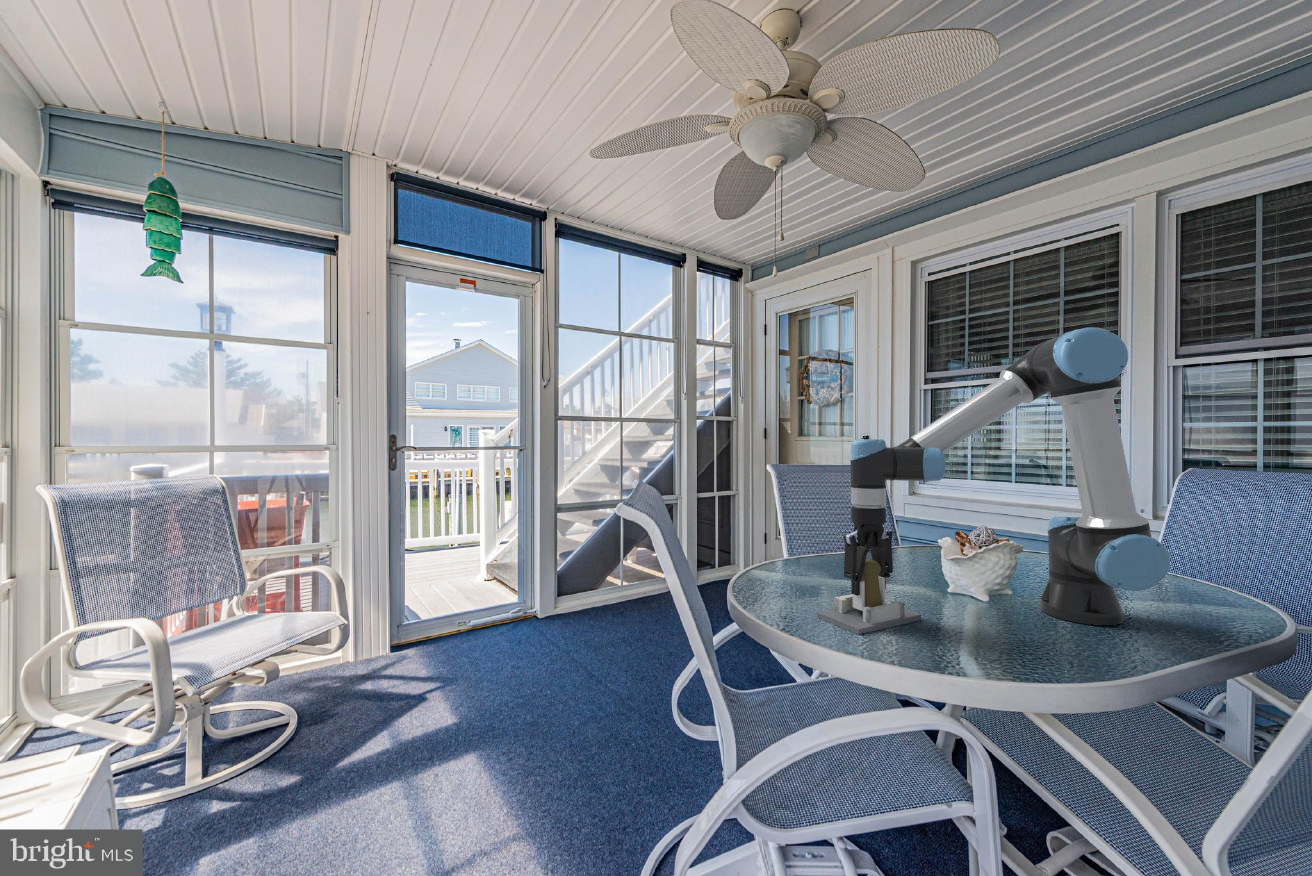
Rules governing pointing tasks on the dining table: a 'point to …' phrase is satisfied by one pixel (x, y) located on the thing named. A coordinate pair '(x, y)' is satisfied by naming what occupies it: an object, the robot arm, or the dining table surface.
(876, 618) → the base
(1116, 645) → the dining table surface
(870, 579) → the cork
